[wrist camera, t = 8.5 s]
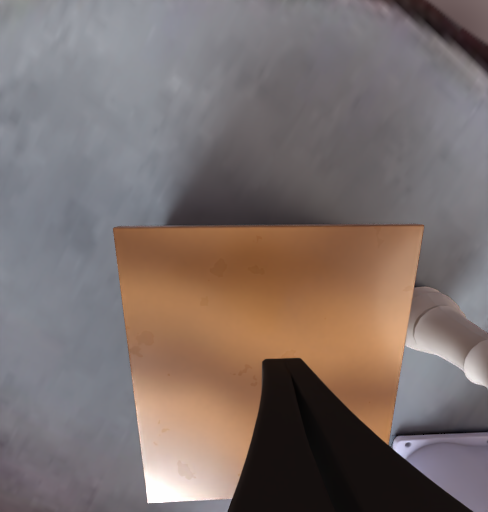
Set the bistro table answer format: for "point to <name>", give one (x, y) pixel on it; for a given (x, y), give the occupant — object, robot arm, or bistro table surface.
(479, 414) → the bistro table surface
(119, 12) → the bistro table surface
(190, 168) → the bistro table surface
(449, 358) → the rook chess piece
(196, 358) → the lid
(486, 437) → the robot arm
